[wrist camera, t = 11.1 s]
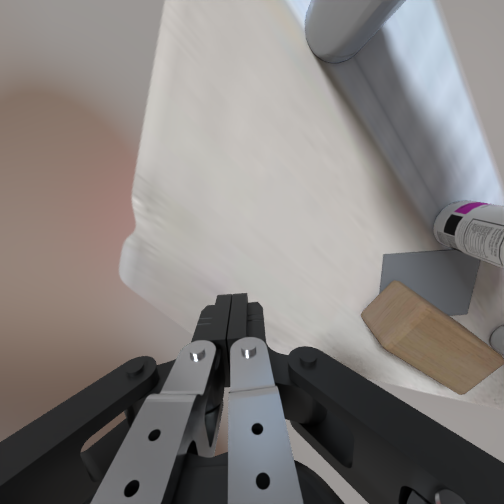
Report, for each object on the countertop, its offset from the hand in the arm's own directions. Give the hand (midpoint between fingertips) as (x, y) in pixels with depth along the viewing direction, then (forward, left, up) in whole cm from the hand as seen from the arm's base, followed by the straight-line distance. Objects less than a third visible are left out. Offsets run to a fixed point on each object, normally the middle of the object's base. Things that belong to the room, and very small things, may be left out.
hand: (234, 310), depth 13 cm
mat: (+17, +34, -32) cm, 50 cm away
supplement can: (+5, +37, -32) cm, 49 cm away
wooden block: (+18, +24, -26) cm, 40 cm away
